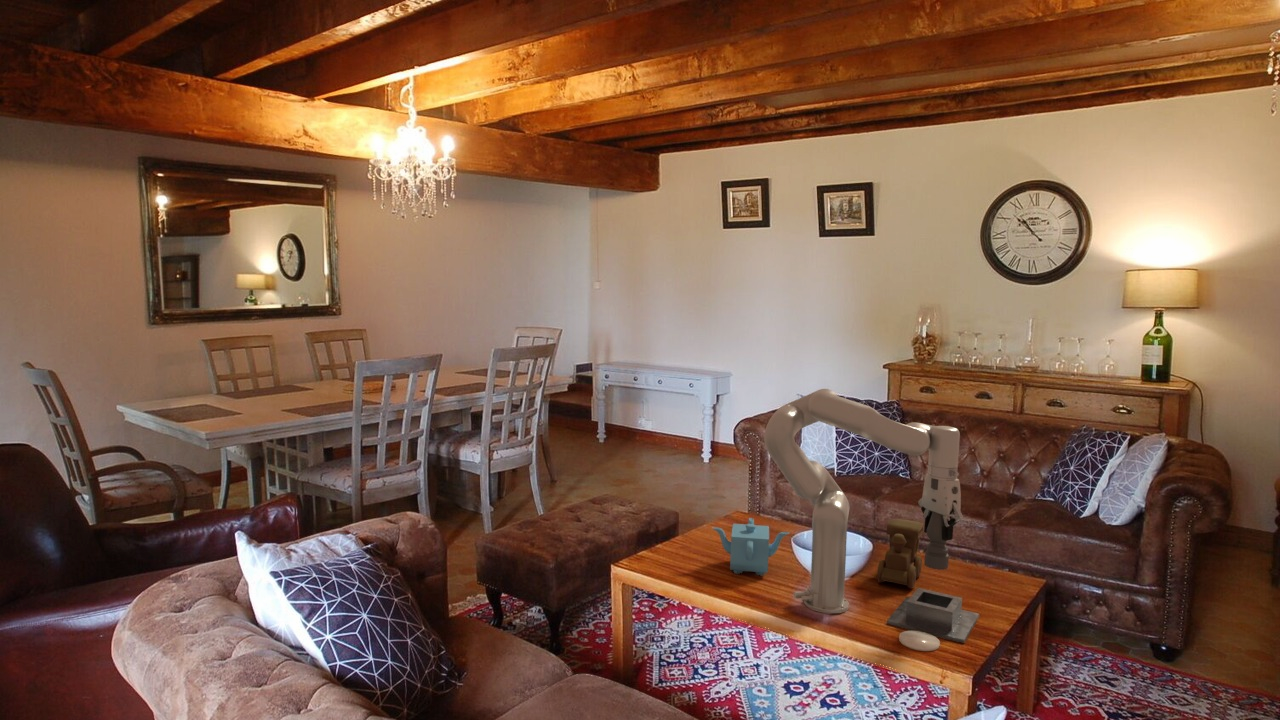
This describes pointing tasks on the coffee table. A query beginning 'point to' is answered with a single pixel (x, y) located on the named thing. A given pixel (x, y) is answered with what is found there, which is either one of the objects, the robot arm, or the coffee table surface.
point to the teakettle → (749, 547)
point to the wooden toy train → (902, 553)
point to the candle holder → (936, 539)
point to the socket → (934, 615)
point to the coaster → (919, 640)
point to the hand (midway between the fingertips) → (938, 535)
